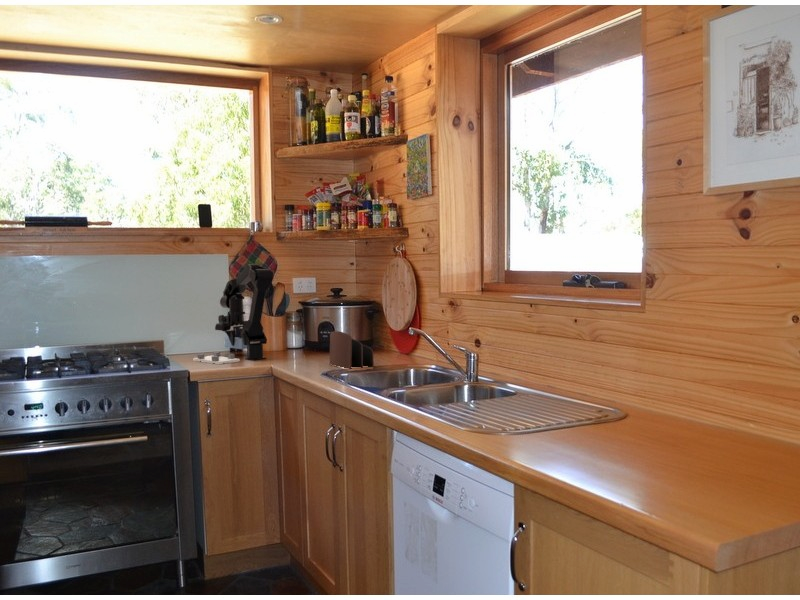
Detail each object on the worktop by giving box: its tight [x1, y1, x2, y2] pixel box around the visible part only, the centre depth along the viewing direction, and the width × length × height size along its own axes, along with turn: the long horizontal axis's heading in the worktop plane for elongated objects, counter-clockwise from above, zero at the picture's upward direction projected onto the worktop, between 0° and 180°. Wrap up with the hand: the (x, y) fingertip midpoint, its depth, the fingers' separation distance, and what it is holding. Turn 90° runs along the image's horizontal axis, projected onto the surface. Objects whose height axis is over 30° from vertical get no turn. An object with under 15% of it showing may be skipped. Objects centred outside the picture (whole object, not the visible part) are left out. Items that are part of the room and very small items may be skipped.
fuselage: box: [223, 336, 247, 350], centre depth 313 cm, size 14×4×4 cm, turn 50°
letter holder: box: [329, 330, 375, 369], centre depth 275 cm, size 10×20×14 cm, turn 28°
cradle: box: [192, 351, 241, 365], centre depth 296 cm, size 18×10×3 cm, turn 49°
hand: (237, 345), depth 313 cm, fingers closed on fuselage, 4 cm apart
